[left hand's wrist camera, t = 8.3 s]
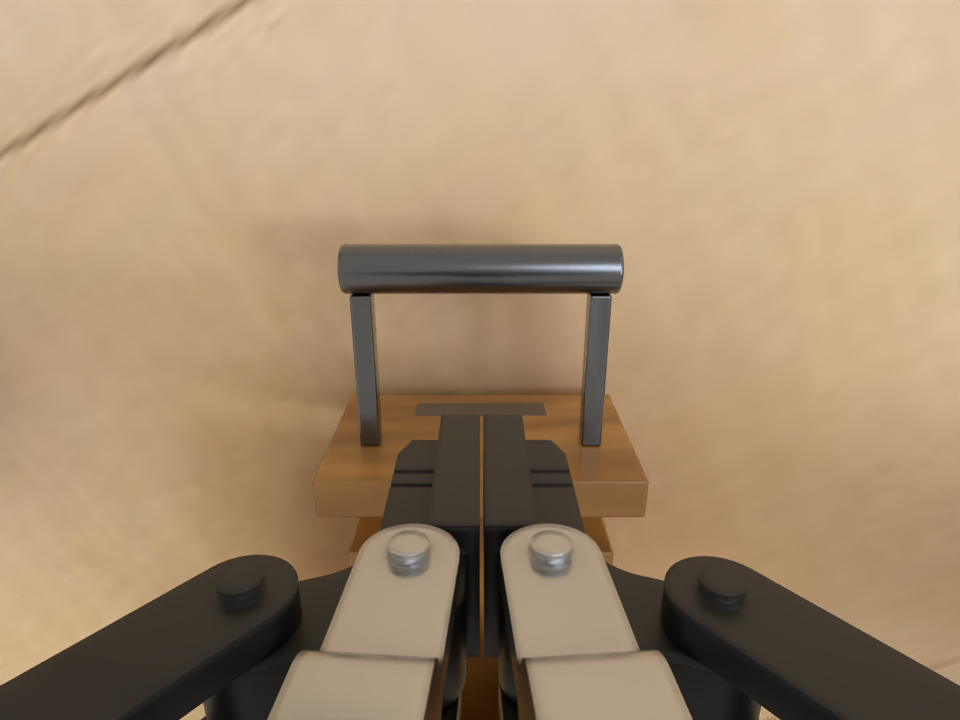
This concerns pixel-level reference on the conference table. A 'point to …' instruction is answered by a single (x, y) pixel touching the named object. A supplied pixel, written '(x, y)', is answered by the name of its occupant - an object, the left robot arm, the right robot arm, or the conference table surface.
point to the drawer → (480, 397)
